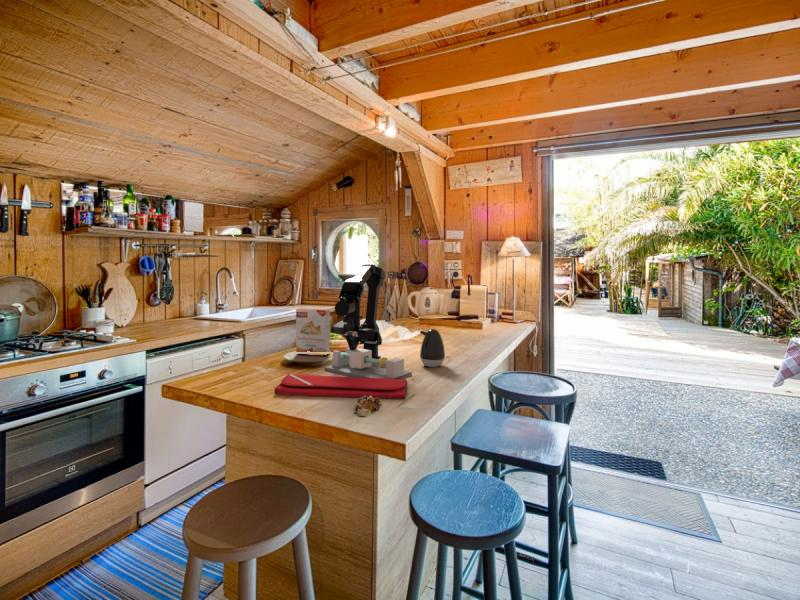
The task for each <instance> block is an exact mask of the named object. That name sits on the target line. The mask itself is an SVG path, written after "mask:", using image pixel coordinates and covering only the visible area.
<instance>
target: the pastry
mask: <svg viewBox="0 0 800 600" xmlns="http://www.w3.org/2000/svg"><path fill="white" fill-rule="evenodd" d="M380 404H382V401H381V400H380V398H379V397H377V398H373V397H372V396H369V397H368V396H366V395H364V396H363V397H361V398H358V399H357V401H356V405H355V406H354V411H353V415H354V414H355V415H354V416H355V417H357V416H358V417H364V418H366V417H369V415H370V416H371V413H372V411H374V410H376V412H378V411H379V410H380V407H381V406H380ZM365 416H366V417H365Z"/></svg>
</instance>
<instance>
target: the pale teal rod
mask: <svg viewBox="0 0 800 600" xmlns="http://www.w3.org/2000/svg"><path fill="white" fill-rule="evenodd" d="M340 354H344V357H347V358H350V354H348V353H346V352H345V353H343V351H340ZM386 360H389V359H388V358H387V357H384V356H383V357H382V356H381V358H377V359H373V358H368V357H364V361H366V362H371V363H372V364H376V365H379V366H380V368H383V369H385V368H386Z"/></svg>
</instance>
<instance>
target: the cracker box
mask: <svg viewBox="0 0 800 600" xmlns="http://www.w3.org/2000/svg"><path fill="white" fill-rule="evenodd" d="M295 332H296V333H295V338H296V339H295V340H296V341H295V348H296V349H295V350H296V351H295V353H296V352H307V351H310V352H331V348H330V347H331V346H330V345H331V343H330V340H331V310H330V308H315V307H299V308H296V309H295Z"/></svg>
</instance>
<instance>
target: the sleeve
mask: <svg viewBox="0 0 800 600" xmlns="http://www.w3.org/2000/svg"><path fill="white" fill-rule="evenodd" d="M364 357H368V358H372V350H367V349H363V348H356V349H355V350H350V366H351V367H356V368H360V369H362V368H365V367H369V366H372V364H373V363H371V362H366V361H364Z"/></svg>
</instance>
